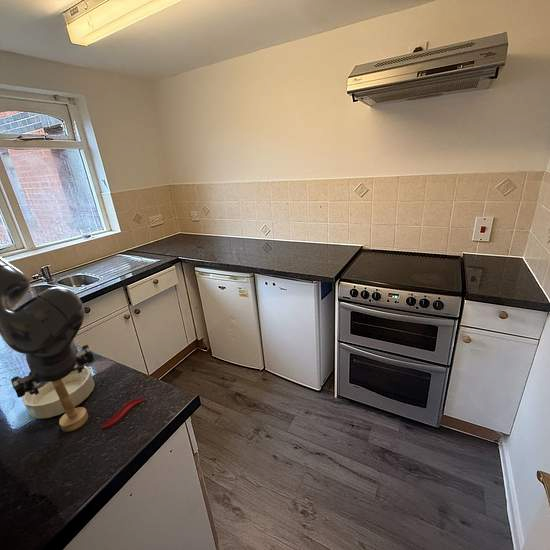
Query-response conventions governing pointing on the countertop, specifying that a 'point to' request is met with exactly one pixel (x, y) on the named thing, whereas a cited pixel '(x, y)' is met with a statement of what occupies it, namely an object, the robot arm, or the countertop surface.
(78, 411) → the wooden pestle
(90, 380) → the bowl
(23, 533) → the countertop surface
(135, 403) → the cayenne pepper
